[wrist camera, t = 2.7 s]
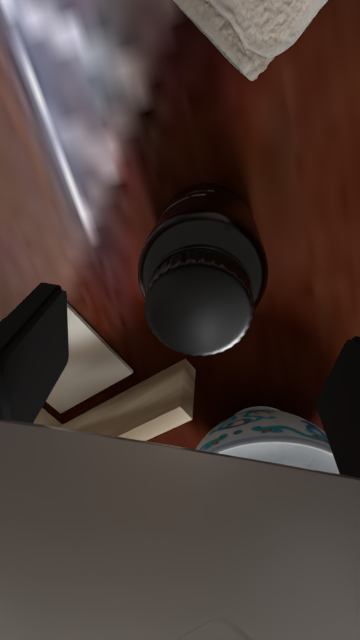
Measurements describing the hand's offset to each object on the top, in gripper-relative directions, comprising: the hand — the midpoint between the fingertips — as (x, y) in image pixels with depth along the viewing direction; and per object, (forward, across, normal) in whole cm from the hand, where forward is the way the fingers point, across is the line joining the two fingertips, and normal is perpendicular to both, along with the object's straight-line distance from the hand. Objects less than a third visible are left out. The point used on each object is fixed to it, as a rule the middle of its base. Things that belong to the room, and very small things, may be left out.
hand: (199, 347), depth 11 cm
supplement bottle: (+15, 0, +1) cm, 15 cm away
